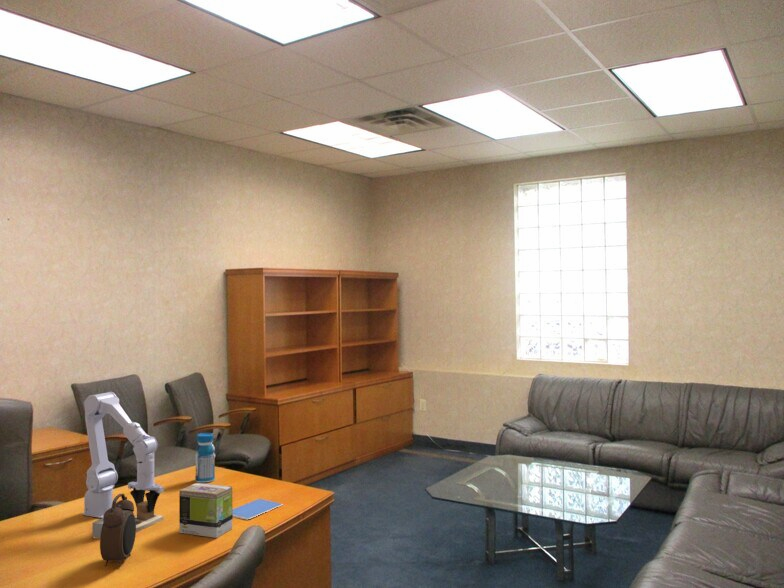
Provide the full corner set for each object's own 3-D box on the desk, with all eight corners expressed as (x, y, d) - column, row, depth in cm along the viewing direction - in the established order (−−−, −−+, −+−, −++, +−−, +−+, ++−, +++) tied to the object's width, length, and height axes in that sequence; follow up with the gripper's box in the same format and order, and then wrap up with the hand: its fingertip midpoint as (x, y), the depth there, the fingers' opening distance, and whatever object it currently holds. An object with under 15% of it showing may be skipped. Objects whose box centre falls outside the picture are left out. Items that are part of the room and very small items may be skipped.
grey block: (92, 537, 206) (92, 522, 206) (102, 533, 210) (102, 518, 210) (101, 539, 205) (101, 524, 205) (111, 535, 209) (111, 520, 209)
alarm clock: (123, 572, 181) (123, 502, 181) (97, 572, 180) (97, 503, 180) (139, 551, 195) (140, 487, 195) (115, 552, 195) (116, 488, 195)
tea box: (233, 528, 215) (233, 485, 215) (216, 539, 205) (216, 494, 205) (196, 523, 220) (196, 481, 220) (178, 533, 210) (178, 489, 210)
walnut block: (145, 514, 224) (145, 500, 224) (153, 516, 223) (154, 502, 223) (136, 518, 221) (136, 504, 221) (145, 519, 219) (145, 505, 219)
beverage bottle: (204, 484, 264) (204, 437, 265) (190, 481, 269) (190, 435, 269) (219, 479, 272) (219, 433, 272) (205, 476, 276) (205, 431, 276)
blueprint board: (111, 528, 214) (111, 525, 214) (141, 515, 227) (141, 512, 227) (134, 533, 210) (134, 529, 210) (163, 519, 223) (163, 515, 223)
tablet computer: (259, 501, 245) (259, 497, 245) (284, 506, 239) (284, 503, 239) (223, 515, 228) (223, 512, 228) (248, 522, 222) (248, 518, 222)
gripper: (121, 473, 221) (121, 511, 221) (153, 477, 215) (153, 517, 215) (136, 468, 227) (136, 505, 227) (167, 472, 222) (167, 510, 222)
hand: (145, 510), depth 222 cm, fingers open, 4 cm apart
